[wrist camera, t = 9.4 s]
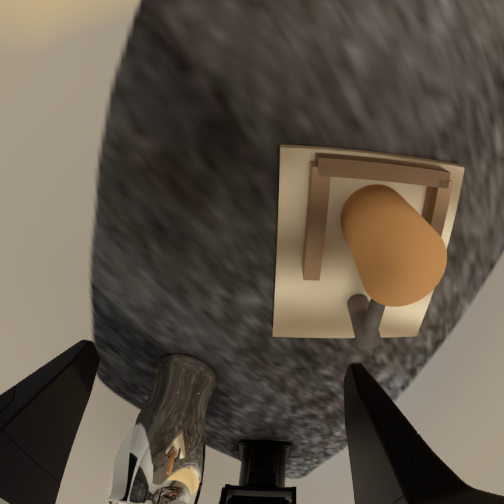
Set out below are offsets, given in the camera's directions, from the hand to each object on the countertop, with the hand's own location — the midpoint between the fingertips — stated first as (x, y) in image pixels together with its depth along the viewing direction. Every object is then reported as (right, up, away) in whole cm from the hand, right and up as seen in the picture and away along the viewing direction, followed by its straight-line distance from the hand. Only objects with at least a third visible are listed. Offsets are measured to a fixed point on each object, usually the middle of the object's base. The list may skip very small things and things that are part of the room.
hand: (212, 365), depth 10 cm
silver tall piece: (-5, -8, +19) cm, 21 cm away
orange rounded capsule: (+9, +6, +9) cm, 14 cm away
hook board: (+9, +4, +11) cm, 15 cm away
